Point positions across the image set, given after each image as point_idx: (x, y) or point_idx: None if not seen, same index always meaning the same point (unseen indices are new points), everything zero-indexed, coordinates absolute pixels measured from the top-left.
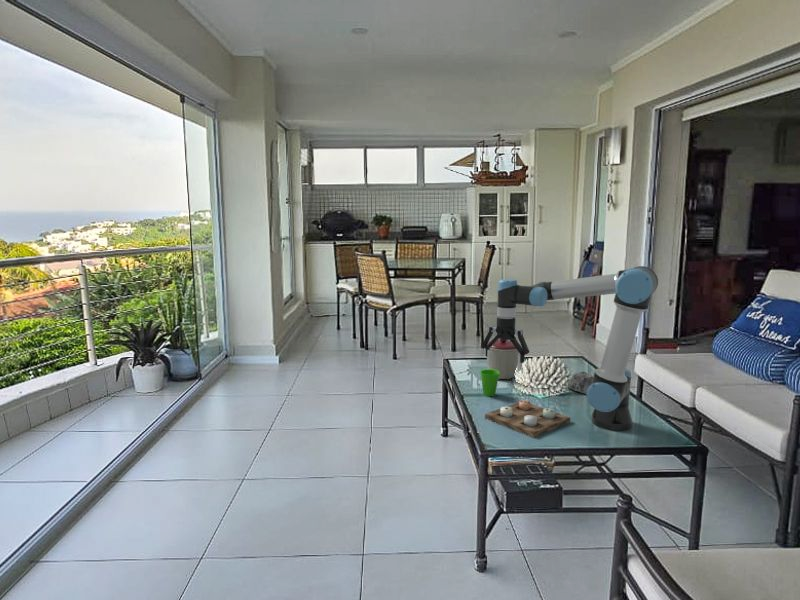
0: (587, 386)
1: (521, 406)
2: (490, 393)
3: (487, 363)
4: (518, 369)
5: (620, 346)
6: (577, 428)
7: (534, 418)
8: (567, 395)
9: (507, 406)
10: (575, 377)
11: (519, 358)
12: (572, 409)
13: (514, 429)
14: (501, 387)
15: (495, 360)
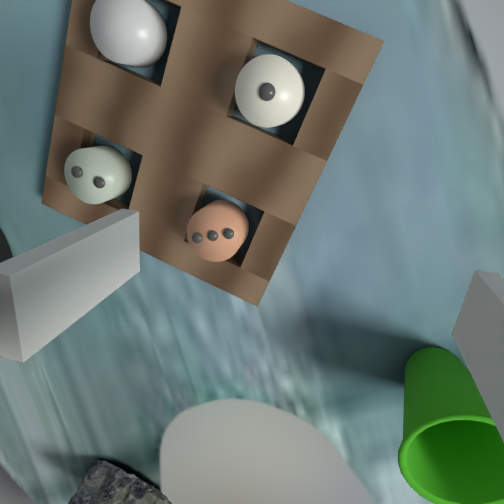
0: (89, 487)
1: (225, 206)
2: (424, 356)
3: (499, 281)
4: (123, 213)
5: None
6: (14, 149)
7: (99, 23)
8: (151, 441)
9: (299, 212)
10: None
11: (29, 253)
12: (94, 324)
13: None
14: (396, 463)
15: None
